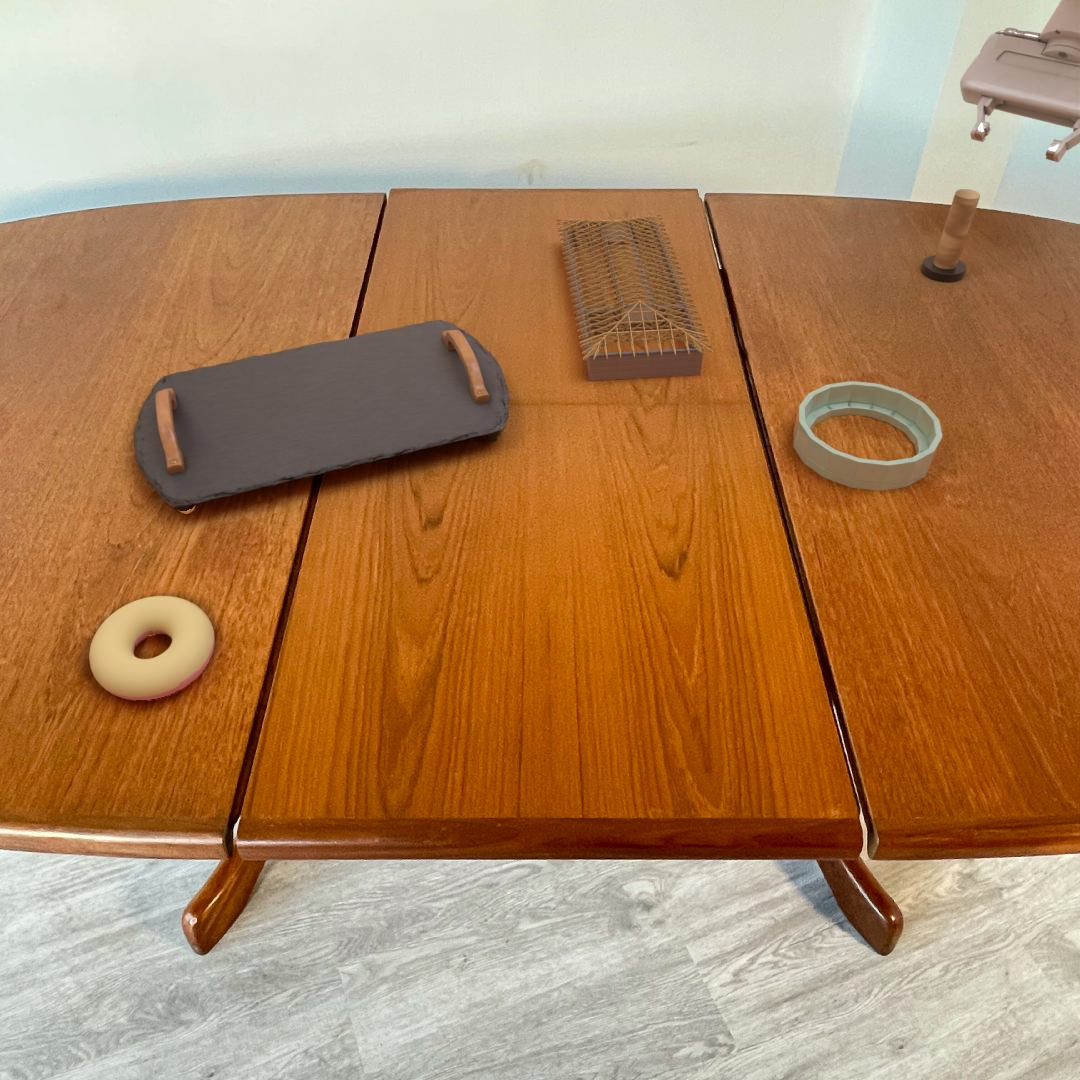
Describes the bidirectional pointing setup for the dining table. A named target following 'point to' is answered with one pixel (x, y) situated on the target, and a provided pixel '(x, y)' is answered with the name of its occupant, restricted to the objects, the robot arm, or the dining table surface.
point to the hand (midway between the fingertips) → (1013, 148)
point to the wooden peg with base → (952, 240)
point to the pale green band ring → (875, 404)
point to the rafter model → (636, 314)
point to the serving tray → (316, 410)
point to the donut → (160, 673)
